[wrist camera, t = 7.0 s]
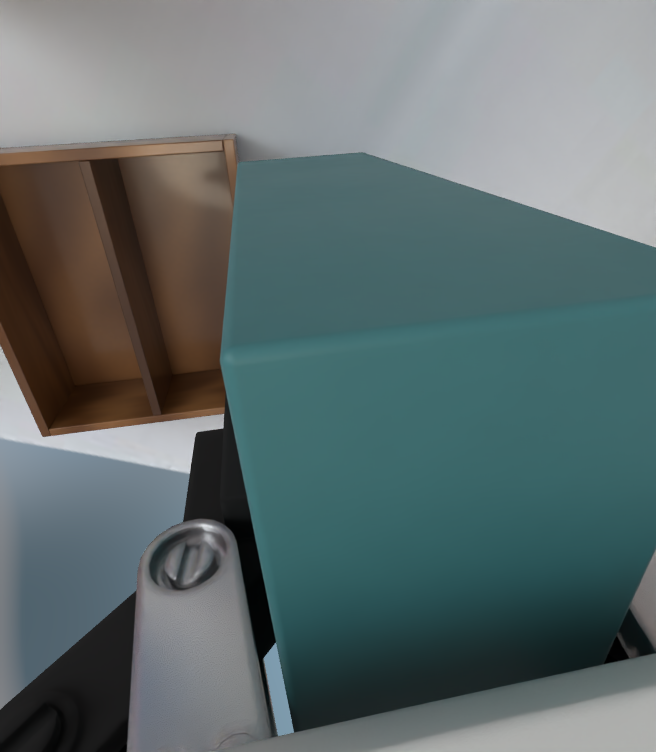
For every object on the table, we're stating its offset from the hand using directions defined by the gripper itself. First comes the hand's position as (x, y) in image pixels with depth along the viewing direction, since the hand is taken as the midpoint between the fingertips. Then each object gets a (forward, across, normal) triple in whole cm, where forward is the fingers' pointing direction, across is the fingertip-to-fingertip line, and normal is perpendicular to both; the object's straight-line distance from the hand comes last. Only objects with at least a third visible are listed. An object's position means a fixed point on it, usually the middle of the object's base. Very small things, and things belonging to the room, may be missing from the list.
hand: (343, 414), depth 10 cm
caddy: (+21, +9, +2) cm, 23 cm away
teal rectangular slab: (+5, 0, 0) cm, 5 cm away
